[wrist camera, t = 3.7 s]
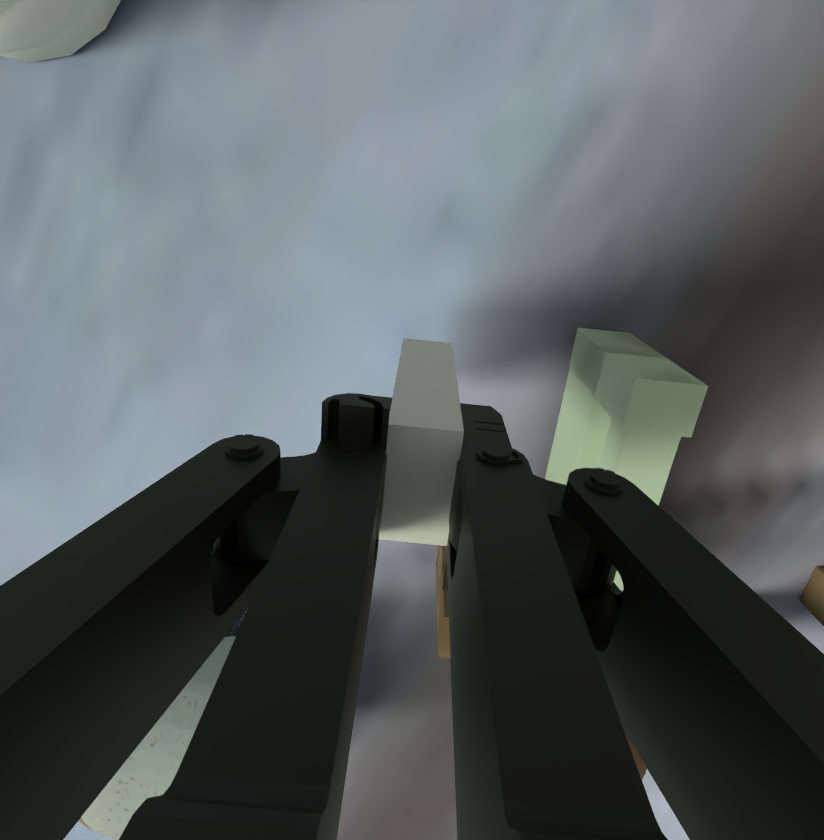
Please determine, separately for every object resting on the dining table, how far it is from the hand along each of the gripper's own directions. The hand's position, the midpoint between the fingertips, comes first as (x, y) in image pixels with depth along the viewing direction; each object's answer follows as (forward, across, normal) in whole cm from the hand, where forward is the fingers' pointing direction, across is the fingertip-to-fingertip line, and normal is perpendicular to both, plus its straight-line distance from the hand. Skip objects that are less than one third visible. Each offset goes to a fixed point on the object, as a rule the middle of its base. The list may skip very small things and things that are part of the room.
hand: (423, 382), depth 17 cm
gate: (+2, -6, +2) cm, 7 cm away
